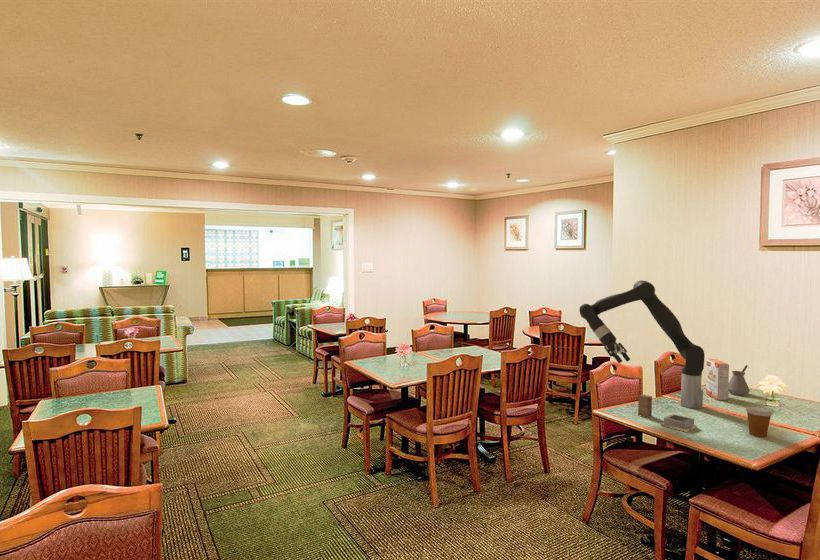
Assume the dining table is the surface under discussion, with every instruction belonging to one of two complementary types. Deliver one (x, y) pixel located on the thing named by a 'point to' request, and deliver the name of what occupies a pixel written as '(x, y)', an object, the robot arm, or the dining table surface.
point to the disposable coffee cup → (758, 420)
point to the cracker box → (717, 379)
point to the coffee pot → (738, 383)
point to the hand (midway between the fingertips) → (624, 361)
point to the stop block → (645, 405)
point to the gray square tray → (679, 422)
